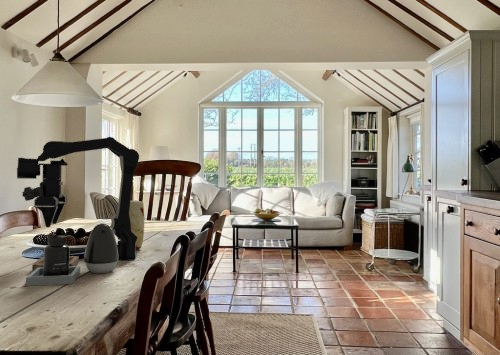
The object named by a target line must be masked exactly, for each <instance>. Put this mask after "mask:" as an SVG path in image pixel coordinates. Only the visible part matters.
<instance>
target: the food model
mask: <svg viewBox="0 0 500 355" xmlns="http://www.w3.org/2000/svg"><path fill="white" fill-rule="evenodd" d="M144 207H145V206H144V202H143V201H142V200H141V201H140V200H134V199H133V200H132V199H131V200H130V209H129V215H130V221H131V232H133V233H134V234H135V235H136V236H137V240H136V251H137V250H138V251H139V250H140V249H141V248H142V246H143V241H144V237H145V236H144V235H145V208H144Z"/></svg>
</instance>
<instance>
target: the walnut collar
mask: <svg viewBox="0 0 500 355" xmlns="http://www.w3.org/2000/svg"><path fill="white" fill-rule="evenodd" d="M79 261H80V260H79V256H78V255H77V256H76V255H75V256H74V255H72V256H69V267H72V266H79V264H80V263H79ZM43 264H44V256H42V257H40V258H39V259H37V260H36V261H35V262H33V264H31V265H32V267H31V268H32V269H31V273H32V272H33V271H34V270H36V269H37V268H41V267H43Z"/></svg>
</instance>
